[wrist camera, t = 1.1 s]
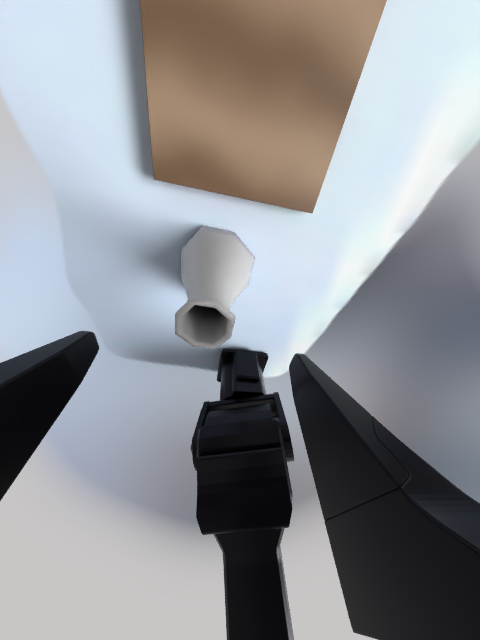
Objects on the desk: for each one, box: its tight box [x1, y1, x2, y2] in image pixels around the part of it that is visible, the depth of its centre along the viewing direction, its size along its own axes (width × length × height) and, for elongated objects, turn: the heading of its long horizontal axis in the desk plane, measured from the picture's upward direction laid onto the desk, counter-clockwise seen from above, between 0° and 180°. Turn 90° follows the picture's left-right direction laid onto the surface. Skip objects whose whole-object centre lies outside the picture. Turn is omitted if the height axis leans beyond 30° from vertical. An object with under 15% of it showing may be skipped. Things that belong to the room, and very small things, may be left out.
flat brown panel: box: [140, 0, 387, 213], centre depth 11 cm, size 12×12×2 cm
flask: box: [175, 226, 255, 349], centre depth 14 cm, size 7×7×10 cm
